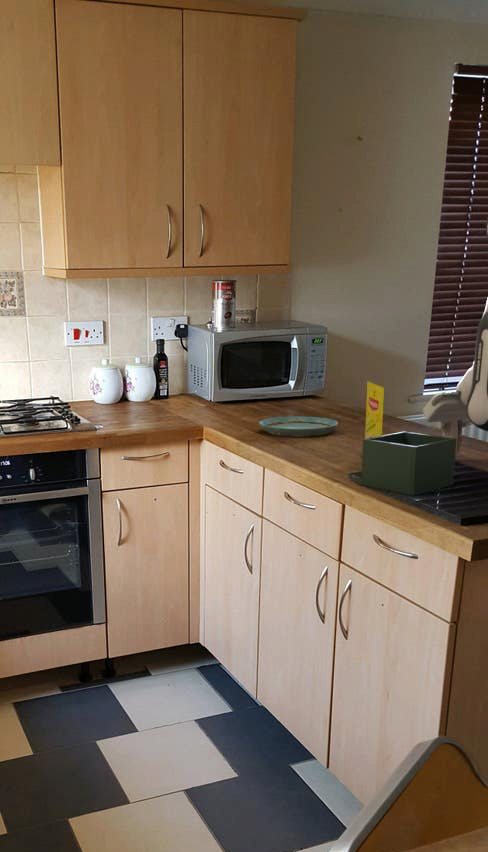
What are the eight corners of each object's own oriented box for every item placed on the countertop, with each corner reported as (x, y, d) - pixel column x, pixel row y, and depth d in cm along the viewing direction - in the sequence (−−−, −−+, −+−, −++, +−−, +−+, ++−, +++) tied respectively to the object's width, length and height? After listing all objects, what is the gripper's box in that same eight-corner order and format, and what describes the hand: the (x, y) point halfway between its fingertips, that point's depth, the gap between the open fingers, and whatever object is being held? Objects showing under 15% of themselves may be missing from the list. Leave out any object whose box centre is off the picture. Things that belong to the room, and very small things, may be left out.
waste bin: (453, 485, 199) (456, 438, 196) (413, 496, 191) (416, 447, 187) (400, 476, 210) (403, 431, 207) (360, 485, 202) (362, 439, 198)
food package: (362, 457, 233) (365, 381, 227) (366, 457, 233) (369, 381, 227) (377, 469, 219) (381, 387, 212) (382, 468, 219) (386, 387, 212)
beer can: (463, 454, 220) (466, 405, 216) (444, 454, 220) (447, 406, 217) (457, 450, 225) (460, 403, 221) (438, 451, 225) (441, 404, 221)
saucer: (302, 442, 258) (302, 430, 257) (243, 433, 276) (243, 423, 275) (353, 431, 273) (353, 420, 272) (294, 423, 290) (294, 413, 289)
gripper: (442, 403, 205) (418, 439, 217) (518, 398, 210) (490, 433, 222) (433, 383, 208) (410, 419, 220) (508, 377, 213) (481, 413, 225)
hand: (451, 426), depth 221 cm, fingers closed on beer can, 5 cm apart
